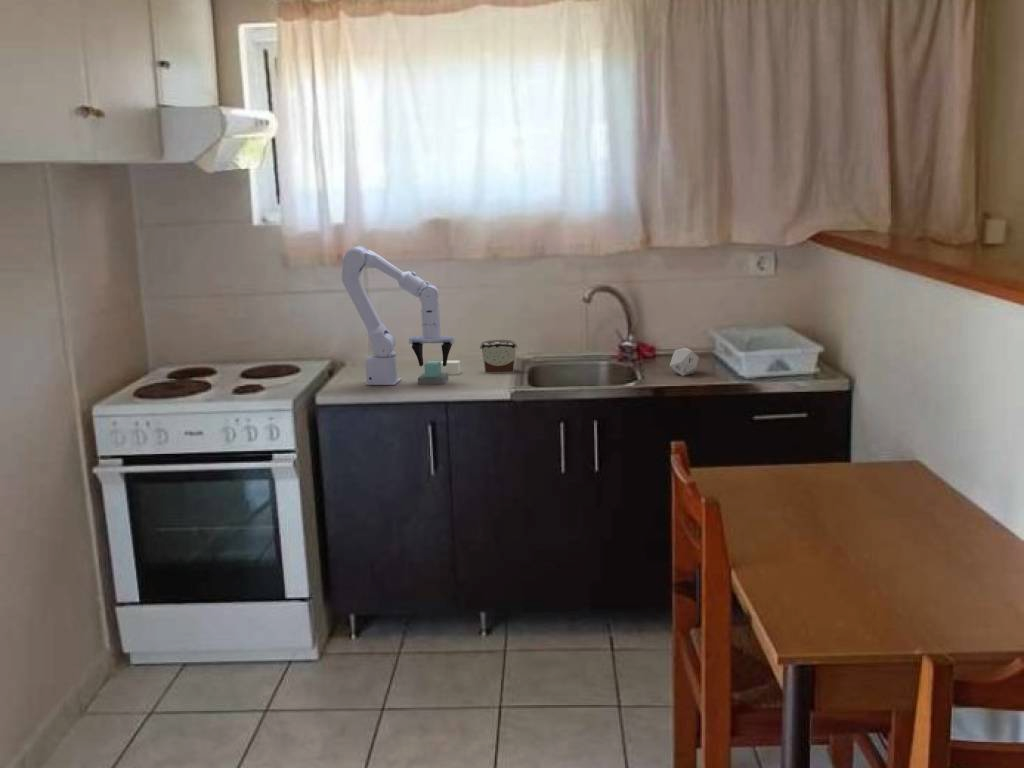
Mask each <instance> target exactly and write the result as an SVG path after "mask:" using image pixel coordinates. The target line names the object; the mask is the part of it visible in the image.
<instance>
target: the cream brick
mask: <svg viewBox="0 0 1024 768" xmlns="http://www.w3.org/2000/svg"><path fill="white" fill-rule="evenodd" d="M461 367H462V366H461V360H454V359H453V360H447V365H446V366H443V360H441V373H448V376H449V375H454V376H455V375H456V376H457V375H460V373H462V371H461V369H462V368H461Z"/></svg>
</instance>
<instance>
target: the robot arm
mask: <svg viewBox="0 0 1024 768" xmlns="http://www.w3.org/2000/svg"><path fill="white" fill-rule="evenodd" d="M364 268H365V269H366V268H367V269H368V268H369V269H372V268H373V269H377V270H378V271H380V272H382V273H384V274H386V275H387V276H389V277H391V278H392V279H394V280H396V281H397V283H398V287H399V288H401V289H402V290H404V291H406V292H407V293H409V294H411V295H412V296H414V298H419V302H420V303H421V309H420V312H421V329H422V333H421V334H422V335H420V336H419V335H418V336H410V337H408V344H409V345H411V349H412V350H413V352H414V354H415V355H416V359H417V361H418V365H419V367H423V366H424V355H423V349H424V348H423V345H424V344H441V345H440V346H441V351H442V352H441V353H442V361H443V366H446V365H447V361H448V357H449V353H450V351H451V349H452V346H453V345H454V344H455V342H456V337H455V336H445V335H441V317H440V308H439V306H440V303H439V297H440V291H439V288H438V287H437V286H436V285H435V284H433V283H430V282H429V281H428V280H423V279H422V278H421V277H419V276H418V275H417V273H416V272H415V271H412V272H411V271H409V270H408V271H407V270H406V271H403V270H401V269H399V268H398V267H396V266H395V265H393V264H392V263H390V262H389V261H388V260H386V259H385V258H384V257H382V256H381V255H379V254H378V253H376V252H374V251H373V250H371V249H368V248H367V247H365V246H363V245H355V246H354V247H353V248H352V247H351V248H350V249H348V250H347V251H346V253H345V254H344V257H343V259H342V270H341V271H342V272H341V281H342V284H343V286H344V287H345V289H346V291H347V293H348V295H349V297H350V299H351V301H352V302H353V305H354V306H355V309H356V311H357V312H358V315H359V317H360V318H361V320H362V323H363V324H364V326H365V328H366V329H367V332H368V337H369V340H370V343H371V350H372V355H369V354H368V355H367V356H366V358H365V375H366V376H365V377H366V383H365V385H366V386H370V385H372V386H383V385H384V386H396V385H397V383H399V382H400V381H401V380H402V377H398V370H397V369H398V368H397V353H396V351H394V348H395V345H396V344H397V343H396V337H395V336H394V335H393V334H392V333H391V332H389V330H388V328H387V327H386V326H385V324H384V323H382V321H381V319H380V317H379V314H378V313H377V311H376V309H375V307H374V305H373V303H372V302H371V301H372V300H370V298H369V296H368V294H367V292H366V290H365V288H364V286H363V283H362V282H361V280H360V278H361V277H360V276H361V275H362V271H363V269H364Z"/></svg>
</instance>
